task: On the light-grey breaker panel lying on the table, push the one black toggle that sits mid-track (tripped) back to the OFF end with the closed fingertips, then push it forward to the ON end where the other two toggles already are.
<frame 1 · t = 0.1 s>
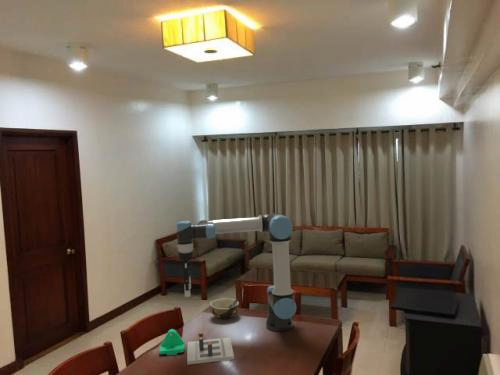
hand: (188, 292, 216), 28 cm above the table, fingers open, 13 cm apart
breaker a: (201, 337, 216), point 5 cm above the table, slide at 8.0 cm
bowl: (225, 318, 255), on the table
breaker c: (209, 348, 202), point 5 cm above the table, slide at 4.0 cm
panel: (209, 351, 209), on the table
camera mount: (172, 352, 212), on the table
breaker b: (201, 343, 209), point 5 cm above the table, slide at 8.0 cm
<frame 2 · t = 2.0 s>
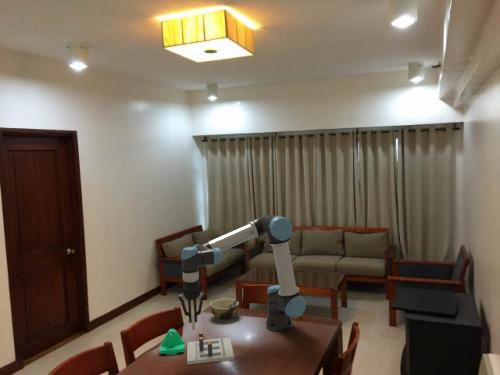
hand: (193, 329, 201), 15 cm above the table, fingers closed
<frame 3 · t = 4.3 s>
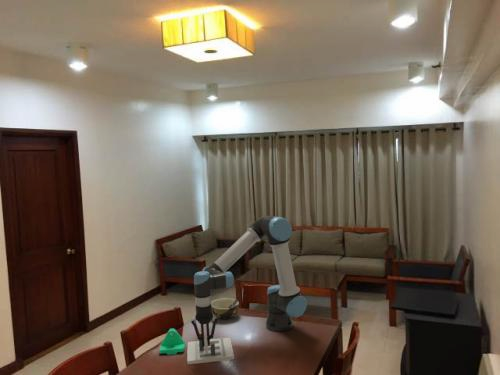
hand: (206, 352, 202), 3 cm above the table, fingers closed
breaker c: (212, 348, 202), point 5 cm above the table, slide at 2.7 cm, touching gripper
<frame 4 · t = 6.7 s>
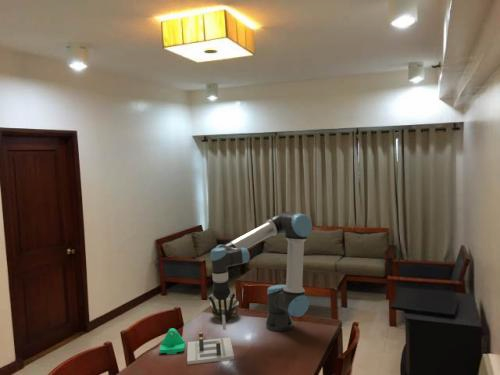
hand: (224, 328, 203), 14 cm above the table, fingers closed
breaker c: (218, 347, 203), point 5 cm above the table, slide at 0.0 cm
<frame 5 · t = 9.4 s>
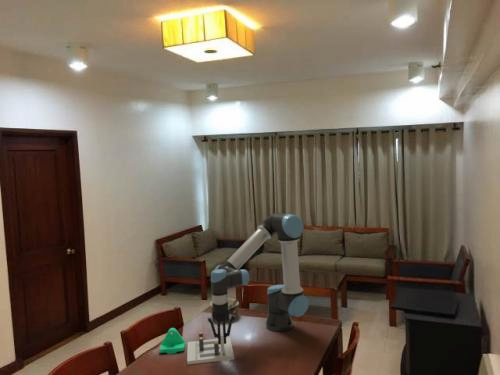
hand: (222, 350, 203), 3 cm above the table, fingers closed
breaker c: (216, 347, 203), point 5 cm above the table, slide at 0.9 cm, touching gripper
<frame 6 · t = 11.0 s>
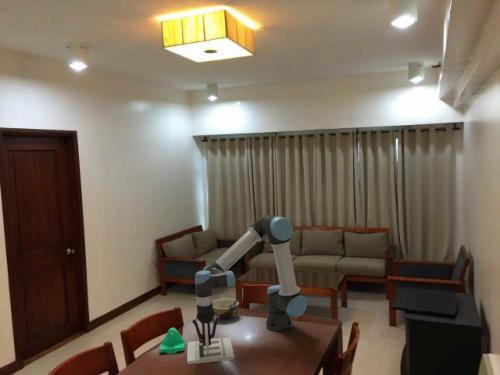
hand: (207, 352, 202), 3 cm above the table, fingers closed
breaker c: (201, 349, 202), point 5 cm above the table, slide at 8.1 cm, touching gripper
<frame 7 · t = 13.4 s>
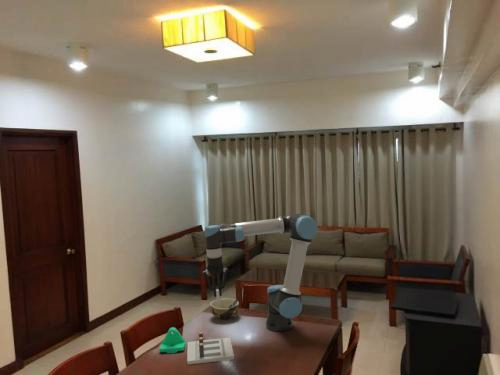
hand: (218, 302, 213), 23 cm above the table, fingers closed
breaker c: (201, 349, 202), point 5 cm above the table, slide at 8.0 cm
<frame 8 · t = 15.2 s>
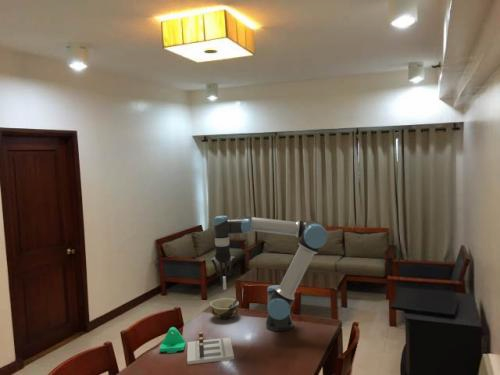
hand: (224, 289, 224), 26 cm above the table, fingers closed
at the end: breaker c slide at 8.0 cm; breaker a slide at 8.0 cm; breaker b slide at 8.0 cm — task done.
